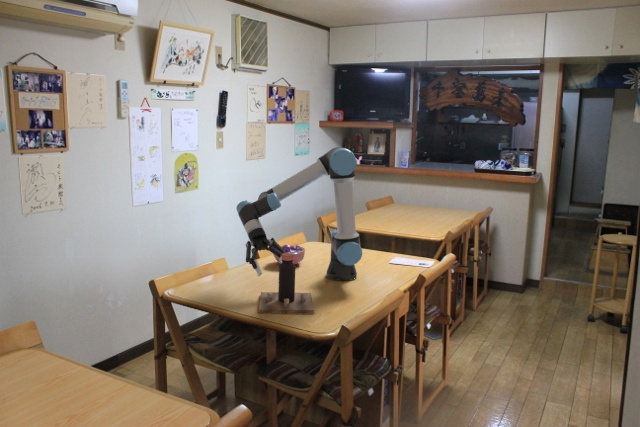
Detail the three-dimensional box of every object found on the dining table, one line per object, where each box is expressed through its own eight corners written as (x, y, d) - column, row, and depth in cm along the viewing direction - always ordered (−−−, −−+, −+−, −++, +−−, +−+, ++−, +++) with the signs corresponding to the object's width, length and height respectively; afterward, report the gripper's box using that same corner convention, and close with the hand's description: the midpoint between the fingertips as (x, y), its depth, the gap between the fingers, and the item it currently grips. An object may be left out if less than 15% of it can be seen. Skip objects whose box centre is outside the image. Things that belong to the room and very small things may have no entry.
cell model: (312, 263, 292) (312, 243, 290) (290, 271, 275) (291, 249, 273) (286, 258, 301) (287, 238, 299) (264, 265, 284) (265, 244, 282)
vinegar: (288, 304, 220) (289, 257, 217) (274, 301, 224) (276, 254, 220) (297, 300, 226) (299, 253, 223) (284, 296, 229) (285, 251, 226)
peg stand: (310, 296, 237) (311, 286, 236) (313, 313, 215) (314, 302, 214) (260, 295, 235) (260, 285, 234) (258, 313, 213) (258, 302, 212)
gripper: (275, 233, 249) (293, 272, 241) (227, 239, 234) (245, 281, 225) (281, 224, 245) (300, 263, 236) (233, 229, 229) (252, 272, 220)
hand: (273, 272), depth 230 cm, fingers open, 13 cm apart
